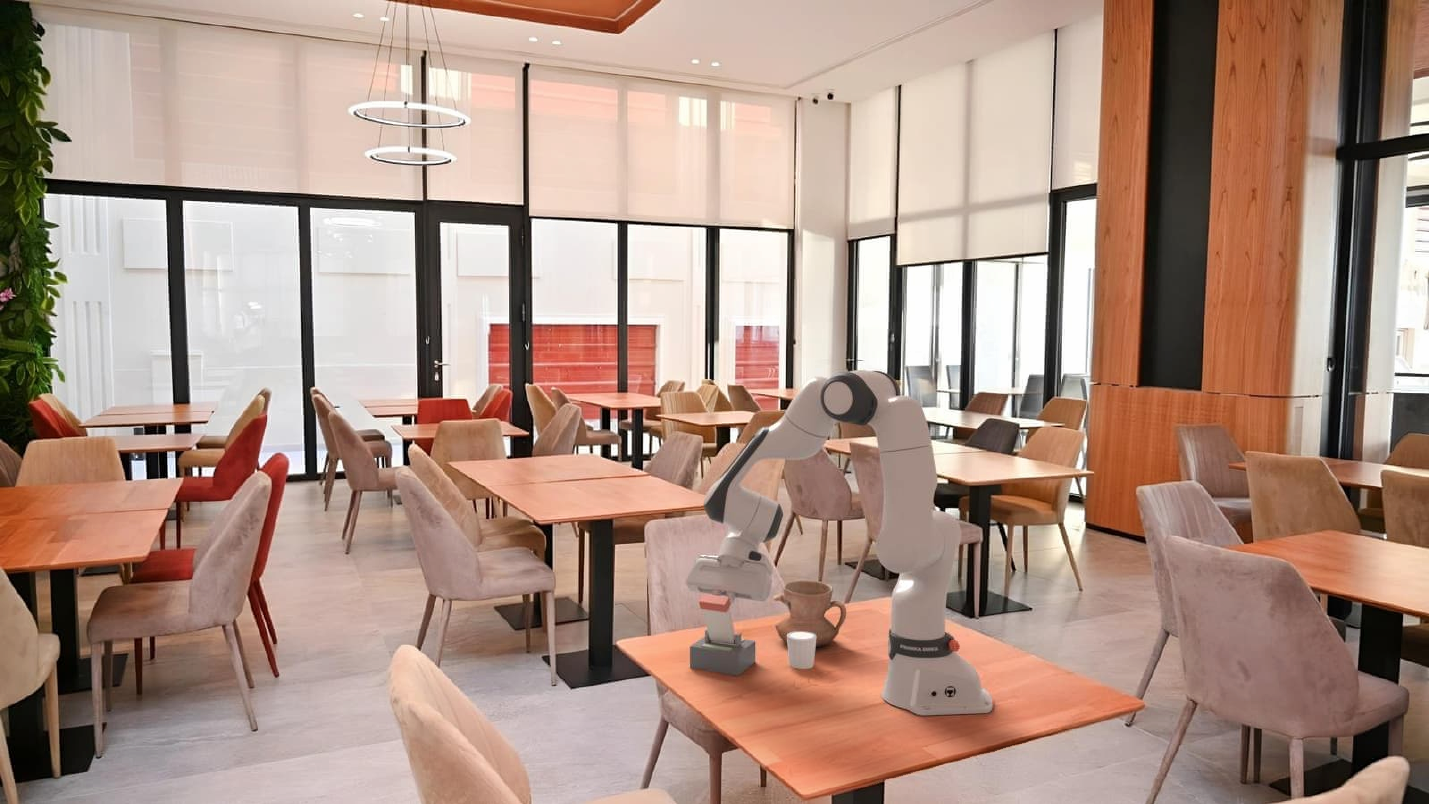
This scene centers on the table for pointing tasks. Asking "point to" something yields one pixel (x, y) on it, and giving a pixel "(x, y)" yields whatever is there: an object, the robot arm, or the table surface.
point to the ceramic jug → (809, 610)
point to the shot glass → (801, 649)
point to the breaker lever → (718, 618)
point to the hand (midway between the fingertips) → (718, 611)
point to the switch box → (722, 655)
